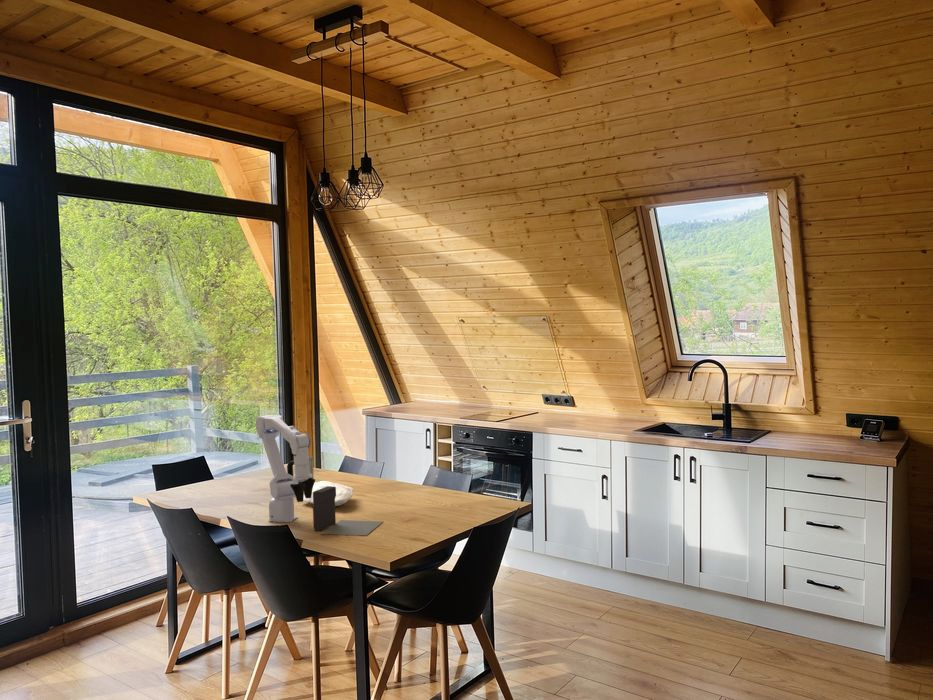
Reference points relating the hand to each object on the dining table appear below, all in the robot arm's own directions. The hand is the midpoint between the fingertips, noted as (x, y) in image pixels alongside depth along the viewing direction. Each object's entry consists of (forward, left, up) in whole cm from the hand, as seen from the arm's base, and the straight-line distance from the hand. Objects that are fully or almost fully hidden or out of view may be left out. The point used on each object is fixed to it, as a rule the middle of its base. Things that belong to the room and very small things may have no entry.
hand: (304, 499), depth 290 cm
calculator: (+8, 0, -11) cm, 13 cm away
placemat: (+20, 0, -11) cm, 22 cm away
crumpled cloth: (-5, +39, -11) cm, 41 cm away
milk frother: (-33, +65, -11) cm, 74 cm away
